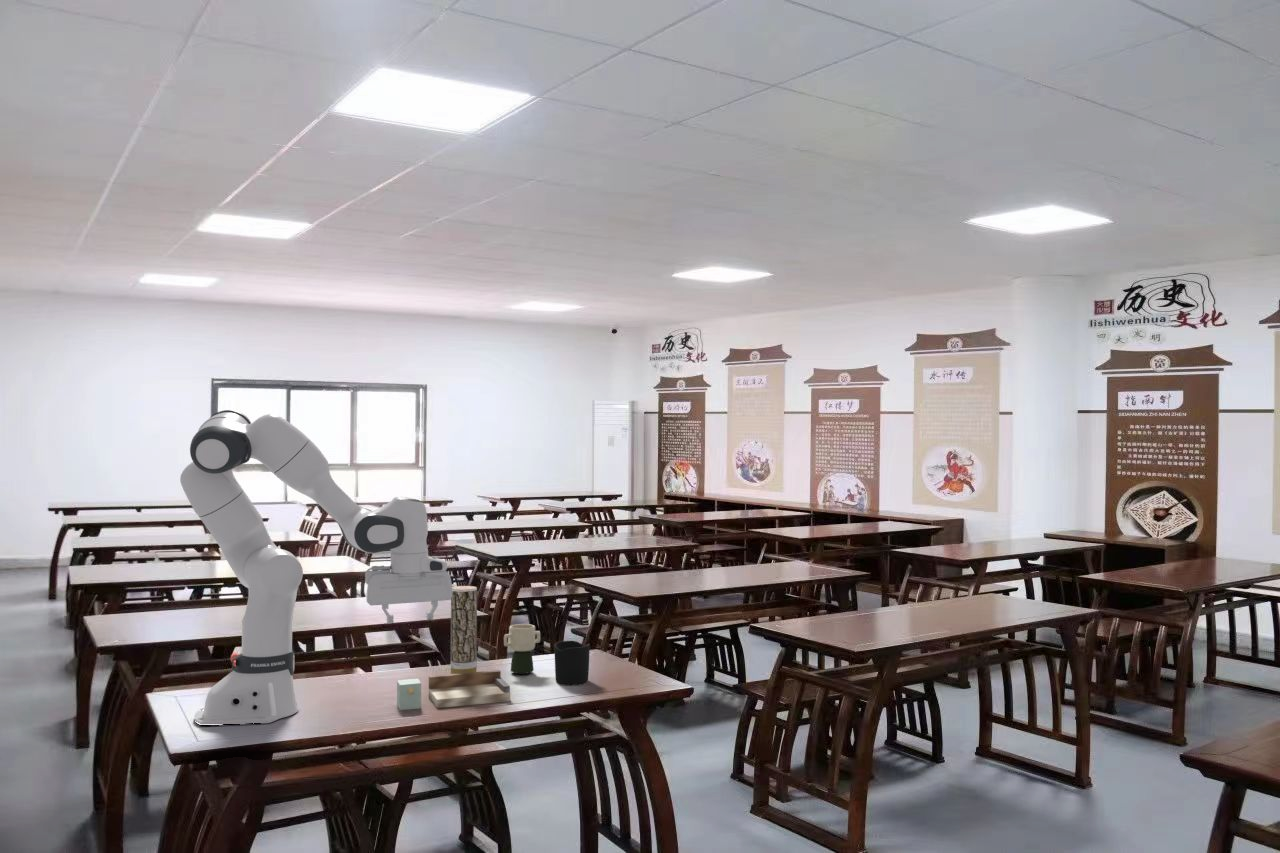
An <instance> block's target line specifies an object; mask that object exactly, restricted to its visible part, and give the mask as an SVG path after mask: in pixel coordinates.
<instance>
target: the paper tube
mask: <svg viewBox="0 0 1280 853" xmlns="http://www.w3.org/2000/svg"><path fill="white" fill-rule="evenodd" d="M452 592H453V596H452V598H451V599H450V674H458V673H470V672H477V667H478V665H477V664H478V662H477V659H478V658H477V655H478V654H477V652H478V651H477V646H478V642H477V641H478V637H477V636H478V630H477V629H478V586H473V585H458V586H452Z"/></svg>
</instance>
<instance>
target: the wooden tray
mask: <svg viewBox="0 0 1280 853" xmlns="http://www.w3.org/2000/svg"><path fill="white" fill-rule="evenodd" d="M501 675H502V674H501V670H500V669H497V670H496V669H495V670H483V671H482V670H481V671H476V672H470V673H458V674H451V673H450V674H449V673H448V674H438V675H437V674H436V675H428V698H429V699H430V700H431V702H432V703H433V705H434V706H435V708H436V709H442V708H452V707H462V706H471V705H472V706H473V705H481V704H482V705H483V704H484V705H485V704H491V703H493V704H494V703H503V702H511V687H510V686H511V685H510V684H508V683H507V682H506V680H504V679H503V678H502V677H501Z"/></svg>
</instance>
